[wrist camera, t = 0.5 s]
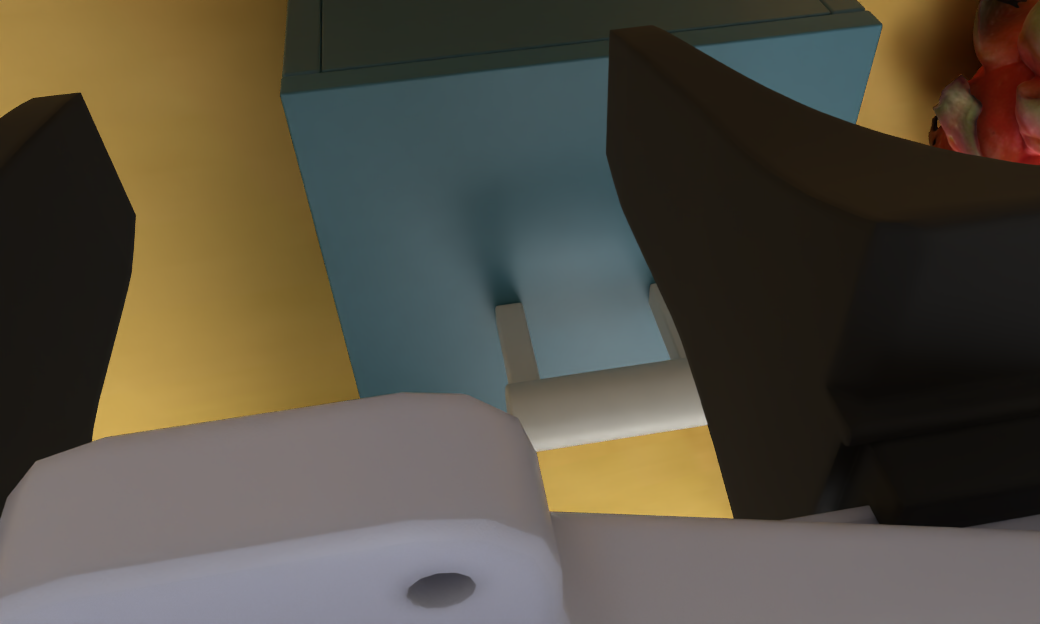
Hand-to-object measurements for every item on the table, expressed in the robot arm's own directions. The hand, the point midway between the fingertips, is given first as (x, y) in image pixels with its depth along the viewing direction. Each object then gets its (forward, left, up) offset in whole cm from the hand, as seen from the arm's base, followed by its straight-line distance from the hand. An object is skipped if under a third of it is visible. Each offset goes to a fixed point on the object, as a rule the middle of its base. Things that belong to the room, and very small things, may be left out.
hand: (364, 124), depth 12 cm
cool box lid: (-8, -4, -5) cm, 11 cm away
